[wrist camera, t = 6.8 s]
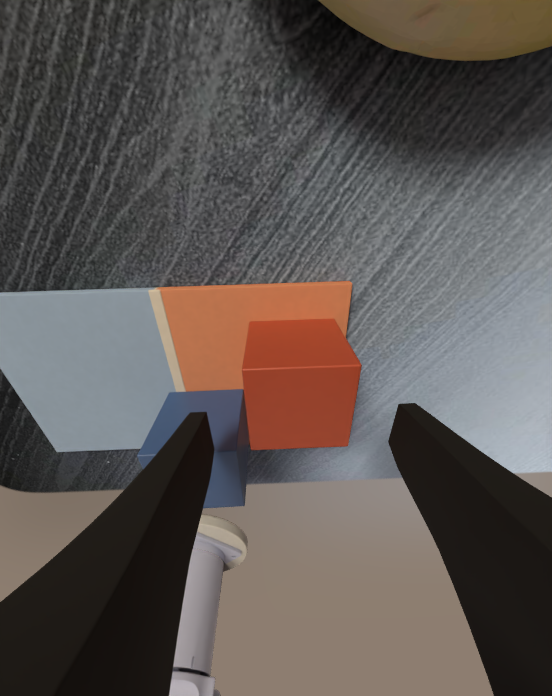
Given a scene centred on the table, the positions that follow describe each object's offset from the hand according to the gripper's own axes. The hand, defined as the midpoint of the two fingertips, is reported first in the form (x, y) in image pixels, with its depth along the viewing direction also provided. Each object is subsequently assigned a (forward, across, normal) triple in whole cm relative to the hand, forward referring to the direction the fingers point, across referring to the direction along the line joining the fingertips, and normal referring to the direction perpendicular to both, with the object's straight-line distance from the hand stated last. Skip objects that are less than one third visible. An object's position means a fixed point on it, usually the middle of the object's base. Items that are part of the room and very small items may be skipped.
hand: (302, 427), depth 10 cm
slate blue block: (+5, +5, +4) cm, 8 cm away
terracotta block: (+5, 0, 0) cm, 5 cm away
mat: (+6, +7, +1) cm, 9 cm away
